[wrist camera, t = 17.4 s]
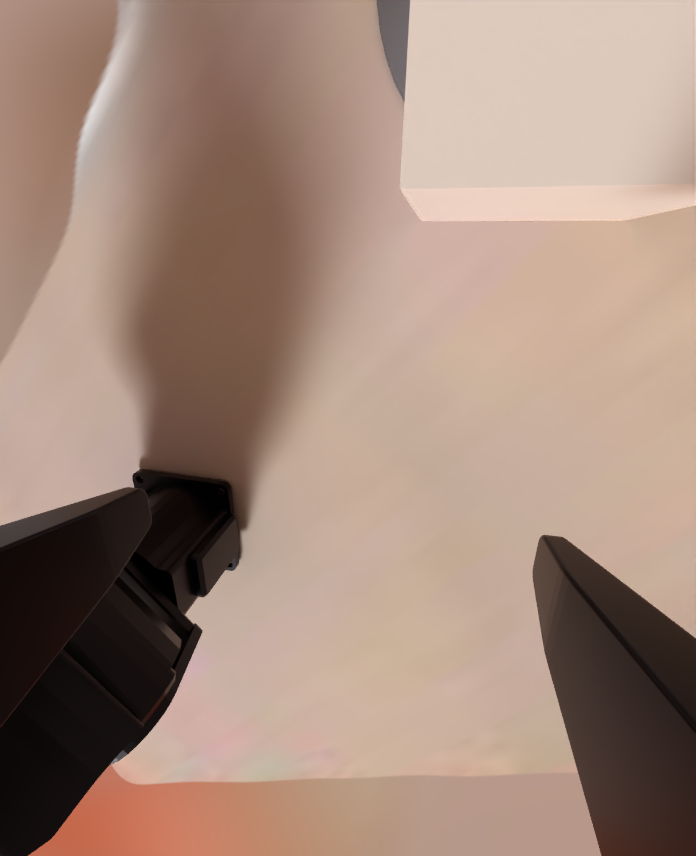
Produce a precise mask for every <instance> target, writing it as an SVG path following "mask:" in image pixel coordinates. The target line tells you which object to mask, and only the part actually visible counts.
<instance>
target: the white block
mask: <svg viewBox="0 0 696 856" xmlns="http://www.w3.org/2000/svg"><path fill="white" fill-rule="evenodd" d="M400 190H401V192H402V193H403V195H404V196H405V198H406V199H407V201H408V202H409V204H410V205H411V207H412V208H413V209H414V211H415V212H416V214H417V215H418V217H419V218H420V220H421V221H625V220H629V219H634V218H639V217H643V216H648V215H653V214H657V213H662V212H667V211H671V210H676V209H681V208H685V207H690V206H695V205H696V0H410V12H409V31H408V49H407V67H406V85H405V104H404V122H403V140H402V158H401V176H400Z"/></svg>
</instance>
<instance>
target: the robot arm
mask: <svg viewBox="0 0 696 856" xmlns="http://www.w3.org/2000/svg"><path fill="white" fill-rule="evenodd" d="M141 477H142V478H143V479H142V478H141ZM133 483H134V487H135V488H131V487H127V488H123V489H119V490H116V491H113V492H110V493H106V494H103V495H100V496H96V497H93V498H90V499H87V500H83V501H80V502H77V503H74V504H70V505H67V506H64V507H60V508H57V509H54V510H51V511H47V512H44V513H41V514H37V515H34V516H31V517H28V518H24V519H21V520H18V521H14V522H11V523H8V524H5V525H1V526H0V856H28V855H29V854H31V853H32V852H34V851H35V850H36V849H38V848H39V847H40V846H42V845H43V844H45V843H46V842H48V841H49V840H50V839H51V838H52V837H53V836H54V835H55V834H56V832H57V831H58V830H59V828H60V827H61V826H62V824H63V823H64V822H65V820H66V819H67V818H68V816H69V815H70V814H71V813H72V811H73V810H74V808H75V807H76V806H77V805H78V803H79V802H80V800H81V799H82V798H83V797H84V795H85V794H86V793H87V791H88V790H89V789H90V788H91V786H92V785H93V784H94V782H95V781H96V780H97V779H98V777H99V776H100V775H101V774H102V773H103V772H104V770H105V769H106V768H107V767H108V766H109V765H110V764H113V763H115V762H117V761H119V760H121V759H122V758H123V757H125V756H126V755H127V754H129V753H130V752H131V751H132V750H133V749H134V748H135V747H136V746H137V745H138V744H139V743H140V742H141V741H142V740H143V739H144V738H145V737H146V736H147V735H148V733H149V732H150V731H151V730H152V729H153V727H154V726H155V725H156V724H157V722H158V721H159V720H160V718H161V717H162V716H163V714H164V713H165V711H166V710H167V708H168V706H169V705H170V703H171V701H172V699H173V697H174V696H175V694H176V691H177V689H178V687H179V684H180V682H181V680H182V677H183V675H184V673H185V671H186V668H187V666H188V664H189V661H190V659H191V657H192V654H193V652H194V650H195V648H196V645H197V643H198V641H199V638H200V636H201V634H202V630H201V628H200V627H199V626H198V625H197V624H196V623H195V624H193V623H192V622H191V621H190V620H189V619H188V618H187V617H186V616H185V614H186V612H187V611H188V610H189V608H190V607H191V606H192V604H193V603H194V602H195V600H196V599H197V598H198V596H199V597H205V596H206V595H207V594H208V593H209V592H210V590H211V589H212V588H213V586H214V585H215V583H216V582H217V581H218V579H219V578H220V576H221V575H222V574H223V572H224V571H225V570H230V571H233V570H235V569H236V567H237V566H238V564H239V556H238V551H239V539H238V529H237V519H236V517H235V515H234V508H233V498H232V489H231V486H230V485H229V483H227V482H225V481H221V480H214V479H207V478H200V477H193V476H186V475H178V474H171V473H164V472H157V471H150V470H143V469H142V470H139V471H137V472H136V473H134V474H133ZM220 488H222V489H223V490H224V491H222V490H221V489H220ZM230 562H231V563H230ZM533 583H534V589H535V595H536V602H537V608H538V614H539V621H540V627H541V633H542V639H543V645H544V651H545V655H546V659H547V663H548V666H549V670H550V674H551V677H552V681H553V684H554V688H555V691H556V695H557V699H558V702H559V706H560V709H561V713H562V716H563V720H564V724H565V727H566V731H567V734H568V738H569V741H570V745H571V749H572V752H573V756H574V759H575V763H576V766H577V770H578V774H579V777H580V781H581V784H582V788H583V791H584V795H585V799H586V802H587V805H588V809H589V813H590V816H591V820H592V823H593V827H594V830H595V834H596V838H597V841H598V845H599V848H600V852H601V855H602V856H696V638H695V637H693V636H692V635H691V634H689V633H688V632H687V631H685V630H684V629H683V628H682V627H680V626H679V625H678V624H676V623H675V622H674V621H672V620H671V619H670V618H668V617H667V616H666V615H665V614H663V613H662V612H661V611H659V610H658V609H657V608H655V607H654V606H653V605H651V604H650V603H649V602H648V601H646V600H645V599H644V598H642V597H641V596H640V595H638V594H637V593H636V592H634V591H633V590H632V589H631V588H629V587H628V586H627V585H625V584H624V583H623V582H621V581H620V580H619V579H617V578H616V577H615V576H614V575H612V574H611V573H610V572H608V571H607V570H606V569H604V568H603V567H602V566H600V565H599V564H598V563H597V562H595V561H594V560H593V559H591V558H590V557H589V556H587V555H586V554H585V553H583V552H582V551H581V550H580V549H578V548H577V547H576V546H574V545H573V544H572V543H570V542H569V541H568V540H566V539H565V538H563V537H559V536H550V535H543V536H541V537H540V539H539V542H538V547H537V551H536V556H535V561H534V566H533Z"/></svg>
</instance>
